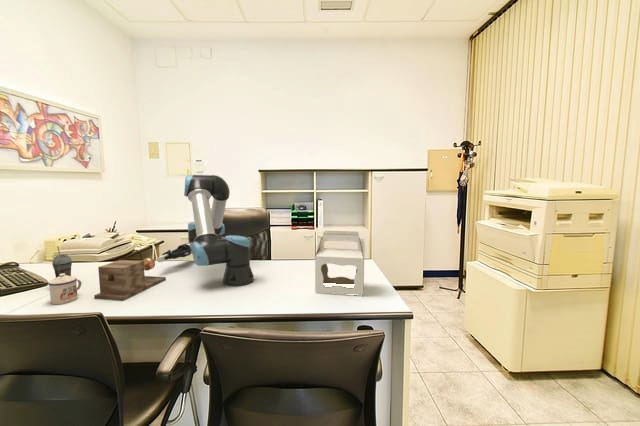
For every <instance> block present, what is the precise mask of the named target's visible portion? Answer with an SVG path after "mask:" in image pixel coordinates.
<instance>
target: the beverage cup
mask: <svg viewBox="0 0 640 426" xmlns="http://www.w3.org/2000/svg"><path fill="white" fill-rule="evenodd" d="M56 248H57V252H58V255H56V256H55V257H54V258H53V259H52V267H53V271H54V274H55V278H56V277H59V274H62V273H65V275H68V276H72V263H73V260H72V258H71V257H70V256H69V255H67V254H61V251H60V246H59V245H57V246H56Z"/></svg>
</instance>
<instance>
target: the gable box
mask: <svg viewBox="0 0 640 426" xmlns="http://www.w3.org/2000/svg"><path fill="white" fill-rule="evenodd" d="M328 241H329V242H331V241H332V242H350V243H351V242H353V243H357V249H350V248H349V249H348V248H325V242H328ZM316 245H317V246H316V248H317V251H316V253H315V256H314V262H315V264H314V265H315V267H314V274H315V275H314V276H315V277H314V281H315V282H314V293H315V292H316V294H321V293H334V294H333V295H336V294H356V295H357V294H358V295H363V296H364V289H363V288H364V286H365V284H364V283H365V250H366V249H365V239H364V238H361V237H360V234H359V231H349V230H347V231H343V230H324V231H323V233H322V236H321V237H320V236H318V238H317V244H316ZM328 264H331V265H332V264H333V265H336V266H343V267H344V266H352V267H355V268H356V269H355V275H354V278H353V279H352V278H349V277H345V276H335V277H330V276H329V274H328V273H329V268H328ZM323 283H336V284H355V286H354V288H346V287H342V286H332V287H325V286H324V285H323Z"/></svg>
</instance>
